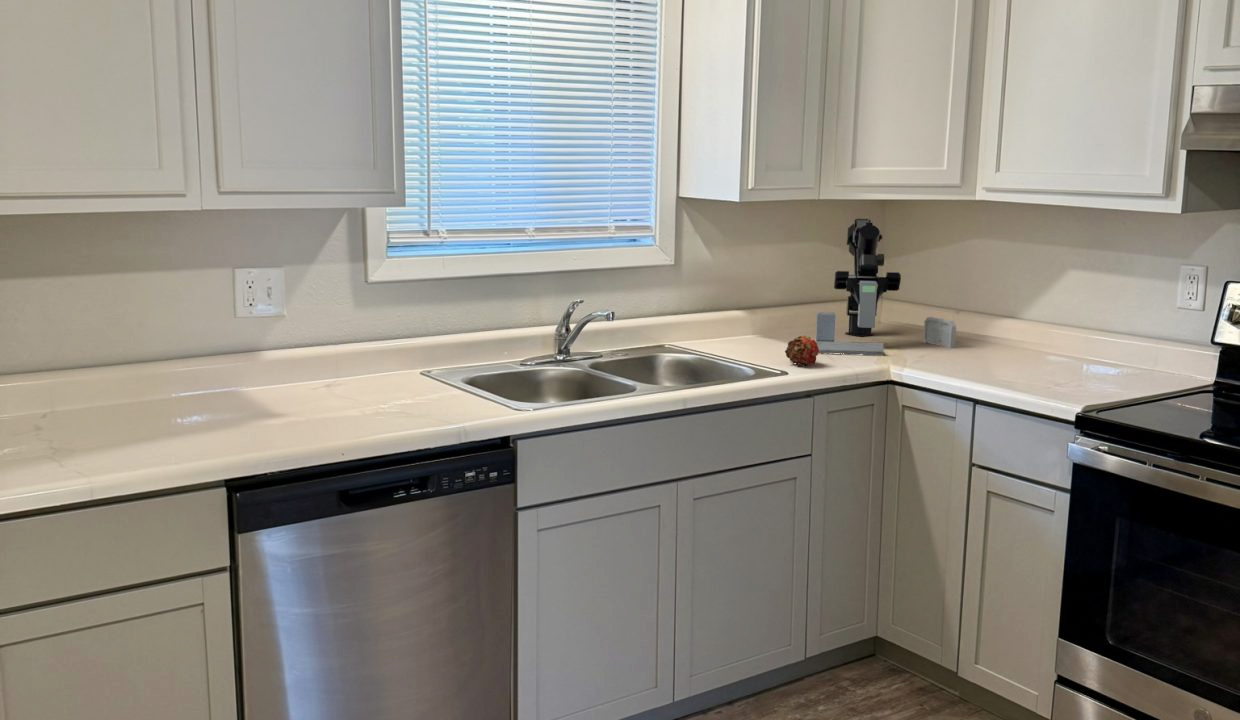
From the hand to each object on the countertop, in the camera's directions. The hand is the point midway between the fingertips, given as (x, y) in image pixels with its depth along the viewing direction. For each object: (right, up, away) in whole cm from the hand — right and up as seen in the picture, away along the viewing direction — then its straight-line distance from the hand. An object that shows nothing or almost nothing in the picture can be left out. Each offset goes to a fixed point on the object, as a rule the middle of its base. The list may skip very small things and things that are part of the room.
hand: (867, 303), depth 317 cm
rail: (-6, -14, -5) cm, 16 cm away
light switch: (+23, -12, +10) cm, 28 cm away
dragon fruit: (-23, -18, -23) cm, 37 cm away
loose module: (0, -7, +3) cm, 7 cm away
